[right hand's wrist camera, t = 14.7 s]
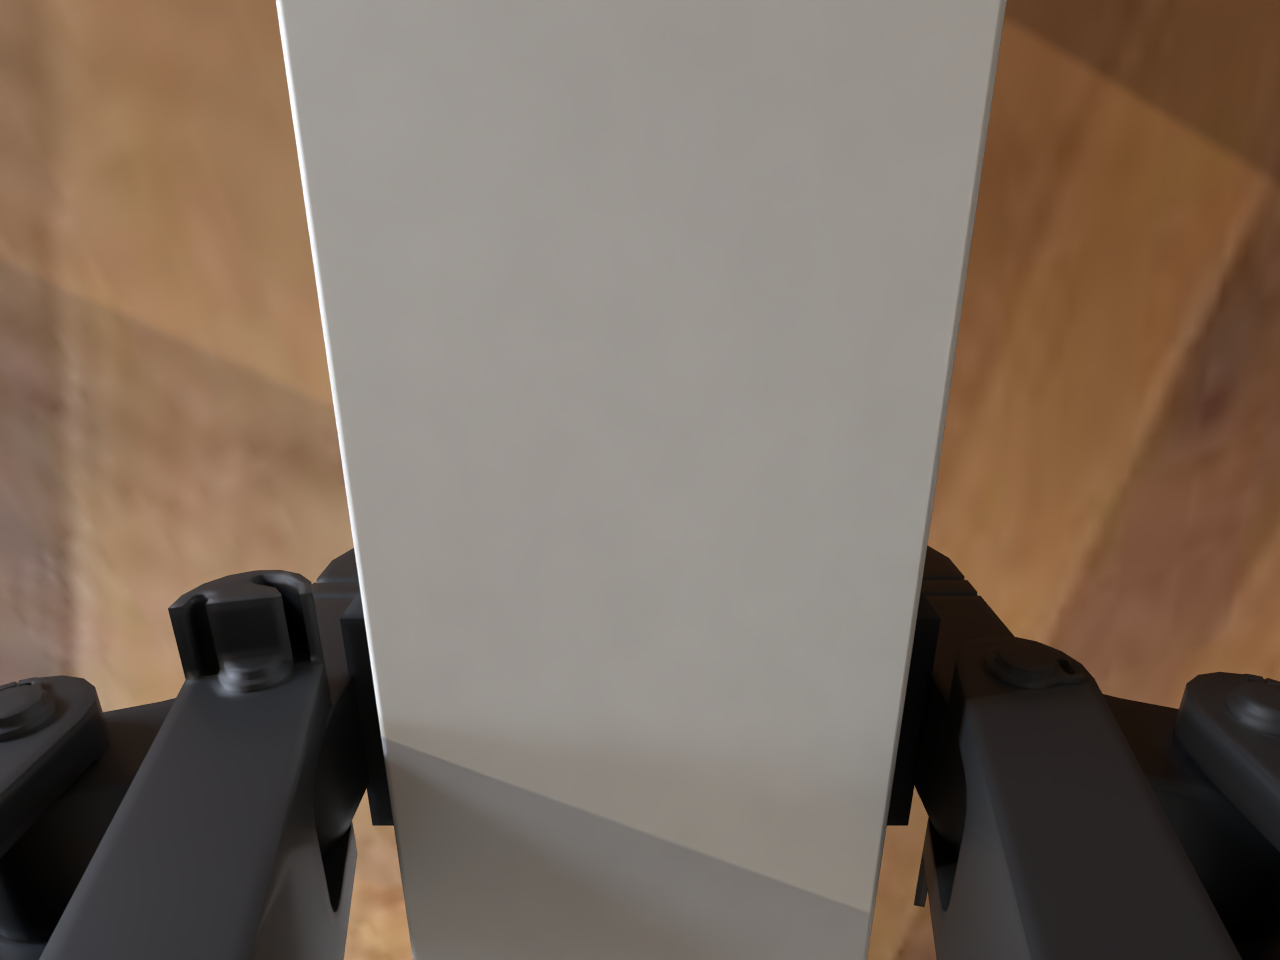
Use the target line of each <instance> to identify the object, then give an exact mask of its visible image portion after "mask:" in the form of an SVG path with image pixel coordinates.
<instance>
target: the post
mask: <svg viewBox="0 0 1280 960" xmlns="http://www.w3.org/2000/svg"><path fill="white" fill-rule="evenodd" d="M1006 1H1007V0H276V5H277V12H278V19H279V26H280V33H281V40H282V47H283V54H284V61H285V68H286V75H287V82H288V89H289V96H290V103H291V110H292V117H293V124H294V131H295V138H296V145H297V152H298V159H299V166H300V173H301V180H302V187H303V194H304V201H305V208H306V215H307V222H308V229H309V236H310V243H311V250H312V257H313V264H314V271H315V278H316V285H317V292H318V299H319V306H320V312H321V319H322V326H323V333H324V340H325V347H326V354H327V361H328V368H329V375H330V382H331V389H332V396H333V403H334V410H335V417H336V424H337V431H338V438H339V445H340V452H341V459H342V466H343V473H344V480H345V487H346V494H347V501H348V508H349V515H350V522H351V529H352V536H353V543H354V550H355V557H356V564H357V571H358V578H359V585H360V592H361V599H362V606H363V613H364V620H365V627H366V634H367V641H368V648H369V655H370V662H371V669H372V676H373V683H374V690H375V697H376V704H377V711H378V718H379V725H380V732H381V739H382V746H383V752H384V759H385V766H386V773H387V780H388V787H389V794H390V801H391V808H392V815H393V822H394V829H395V836H396V843H397V850H398V857H399V864H400V871H401V878H402V885H403V892H404V899H405V906H406V913H407V920H408V927H409V934H410V941H411V948H412V955H413V960H867V956H868V949H869V942H870V935H871V928H872V922H873V915H874V908H875V901H876V894H877V887H878V880H879V873H880V867H881V860H882V853H883V846H884V839H885V832H886V825H887V819H888V812H889V805H890V798H891V791H892V784H893V777H894V770H895V764H896V757H897V750H898V743H899V736H900V729H901V722H902V716H903V709H904V702H905V695H906V688H907V681H908V674H909V667H910V661H911V654H912V647H913V640H914V633H915V626H916V619H917V612H918V606H919V599H920V592H921V585H922V578H923V571H924V564H925V558H926V551H927V544H928V537H929V530H930V523H931V516H932V509H933V503H934V496H935V489H936V482H937V475H938V468H939V461H940V455H941V448H942V441H943V434H944V427H945V420H946V413H947V406H948V400H949V393H950V386H951V379H952V372H953V365H954V358H955V352H956V345H957V338H958V331H959V324H960V317H961V310H962V303H963V297H964V290H965V283H966V276H967V269H968V262H969V255H970V248H971V242H972V235H973V228H974V221H975V214H976V207H977V200H978V194H979V187H980V180H981V173H982V166H983V159H984V152H985V145H986V139H987V132H988V125H989V118H990V111H991V104H992V97H993V91H994V84H995V77H996V70H997V63H998V56H999V49H1000V42H1001V36H1002V29H1003V22H1004V15H1005V8H1006Z"/></svg>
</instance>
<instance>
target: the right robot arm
mask: <svg viewBox="0 0 1280 960" xmlns="http://www.w3.org/2000/svg"><path fill="white" fill-rule="evenodd" d="M168 610H169V614H170V618H171V622H172V626H173V630H174V634H175V638H176V642H177V646H178V650H179V654H180V658H181V662H182V666H183V670H184V674H185V678H186V681H185V682H184V684H183V686H182V688H181V690H180V692H179V694H178V696H177V698H174V699H170V700H166V701H162V702H157V703H151V704H146V705H141V706H135V707H130V708H125V709H119V710H114V711H109V712H102V709H101V705H100V702H99V699H98V695H97V692H96V689H95V687H94V686H93V685H92V684H90V683H89V682H88V681H86V680H85V679H83V678H76V677H69V676H53V677H43V678H37V677H36V678H29V679H24V680H19V683H16V682H12V683H9V684H5V685H2V686H0V960H343V959H344V952H345V944H346V936H347V929H348V921H349V913H350V906H351V898H352V890H353V882H354V875H355V867H356V859H357V849H356V842H355V835H354V829H353V824H352V819H353V817H354V814H355V812H356V810H357V808H358V806H359V804H360V801H361V799H362V797H363V795H364V793H365V790H366V788H367V793H368V799H369V805H370V811H371V818H372V824H373V825H394V822H393V815H392V808H391V801H390V794H389V787H388V780H387V773H386V766H385V759H384V752H383V746H382V739H381V732H380V725H379V718H378V711H377V704H376V697H375V690H374V683H373V676H372V669H371V662H370V655H369V648H368V641H367V634H366V627H365V620H364V613H363V606H362V599H361V592H360V585H359V578H358V571H357V564H356V557H355V550H354V548H353V549H351V550H350V551H348V552H346V553H344V554H343V555H341V556H339V557H338V558H336V559H334V560H332V561H331V563H330V564H329V565H328V566H327V568H326V569H325V570H324V571H323V572H322V574H321V575H320V576H319V577H318V578H317V583H313V584H311V581H309V580H308V579H306V578H305V577H303V576H302V575H301V574H297V573H293V572H288V571H283V570H257V571H251V572H245V573H239V574H234V575H229V576H226V577H223V578H220V579H217V580H214V581H211V582H208V583H205V584H202V585H200V586H199V587H197V588H195V589H193V590H191V591H189V592H187V593H185V594H184V595H182V596H181V597H180V598H179V599H178V600H176V601H175V602H174V603H173V604H172V605H171V606H170V607H169V608H168ZM914 785H915V787H916V789H917V792H918V794H919V796H920V798H921V800H922V803H923V805H924V807H925V809H926V811H927V813H928V816H929V818H928V824H927V829H926V835H925V841H924V847H923V853H922V859H921V864H920V870H919V876H918V882H917V888H916V895H915V902H914V905H916V906H921V907H925V902H926V896H927V891H928V896H929V904H930V911H931V919H932V927H933V934H934V942H935V950H936V957H937V960H1280V682H1279V681H1276V680H1272V679H1269V678H1267V679H1263V677H1261V676H1256V675H1251V674H1235V673H1225V672H1216V673H1209V674H1202V675H1198V676H1196V677H1195V678H1194V679H1192V680H1191V681H1189V682H1188V683H1187V684H1186V688H1185V691H1184V694H1183V698H1182V701H1181V704H1180V708H1179V709H1175V708H1170V707H1164V706H1159V705H1153V704H1148V703H1143V702H1137V701H1132V700H1127V699H1121V698H1117V697H1113V696H1109V695H1104V694H1102V692H1101V691H1100V689H1099V687H1098V685H1097V683H1096V681H1095V679H1094V678H1093V677H1092V676H1091V674H1090V673H1089V672H1088V671H1087V670H1086V669H1085V667H1084V666H1083V665H1082V664H1081V663H1079V662H1077V661H1076V660H1074V659H1073V658H1071V657H1070V656H1068V655H1066V654H1065V653H1063V652H1062V651H1060V650H1057V649H1054V648H1052V647H1049V646H1047V645H1044V644H1042V643H1039V642H1037V641H1032V640H1027V639H1022V638H1018V637H1014V635H1013V634H1012V633H1011V632H1010V631H1009V629H1008V628H1007V627H1006V626H1005V625H1004V623H1003V622H1002V621H1001V620H1000V619H999V618H998V616H997V615H996V614H995V613H994V612H993V610H992V609H991V608H990V607H989V606H988V604H987V603H986V602H985V601H984V600H983V598H982V597H981V596H977V591H976V590H975V589H974V588H973V586H972V585H971V584H970V583H969V582H968V580H964V576H963V574H962V573H961V572H960V571H959V570H958V568H957V567H956V566H955V565H954V564H953V562H952V561H951V560H950V559H949V558H948V557H946V556H944V555H943V554H941V553H939V552H938V551H936V550H934V549H932V548H931V547H929V546H927V551H926V558H925V564H924V571H923V578H922V585H921V592H920V599H919V606H918V612H917V619H916V626H915V633H914V640H913V647H912V654H911V661H910V667H909V674H908V681H907V688H906V695H905V702H904V709H903V716H902V722H901V729H900V736H899V743H898V750H897V757H896V764H895V770H894V777H893V784H892V791H891V798H890V805H889V812H888V819H887V825H908V821H909V815H910V809H911V803H912V796H913V790H914Z"/></svg>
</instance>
